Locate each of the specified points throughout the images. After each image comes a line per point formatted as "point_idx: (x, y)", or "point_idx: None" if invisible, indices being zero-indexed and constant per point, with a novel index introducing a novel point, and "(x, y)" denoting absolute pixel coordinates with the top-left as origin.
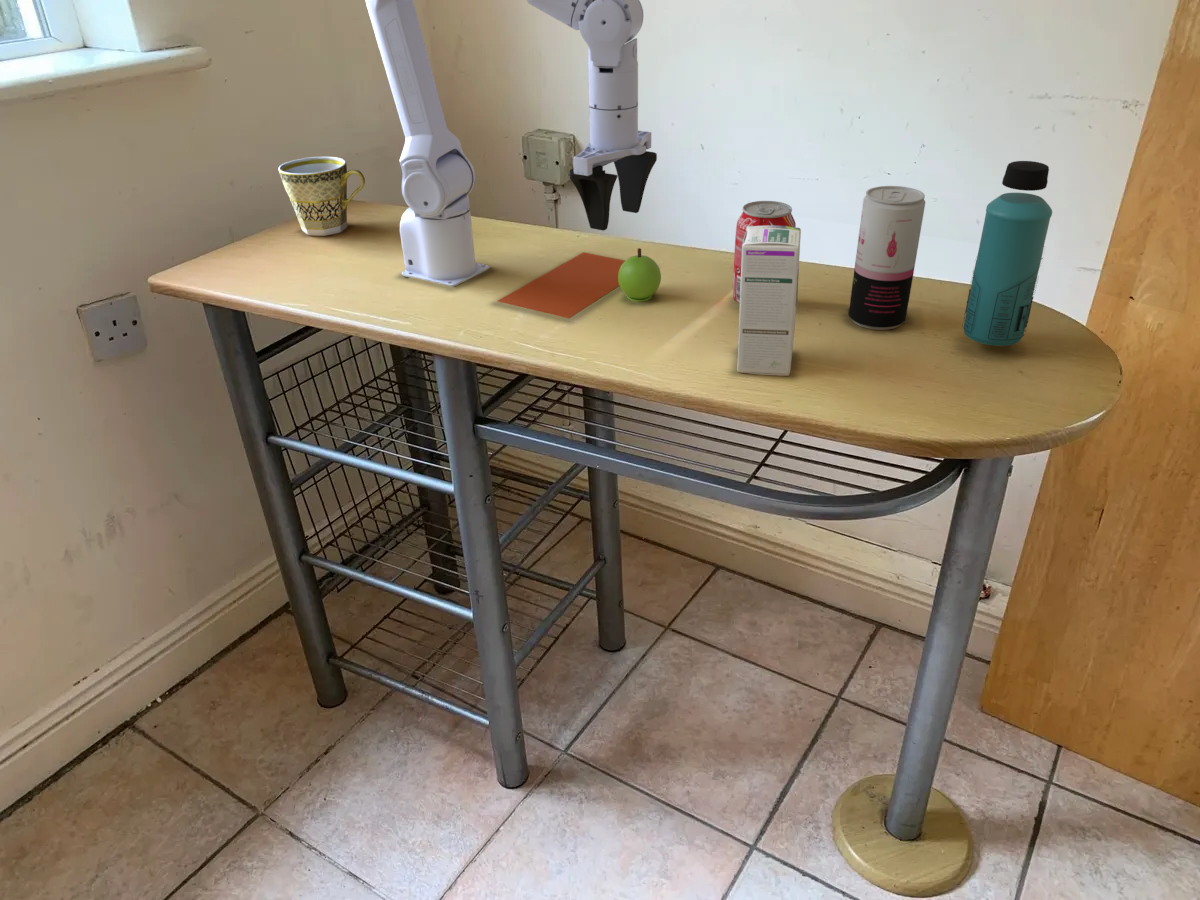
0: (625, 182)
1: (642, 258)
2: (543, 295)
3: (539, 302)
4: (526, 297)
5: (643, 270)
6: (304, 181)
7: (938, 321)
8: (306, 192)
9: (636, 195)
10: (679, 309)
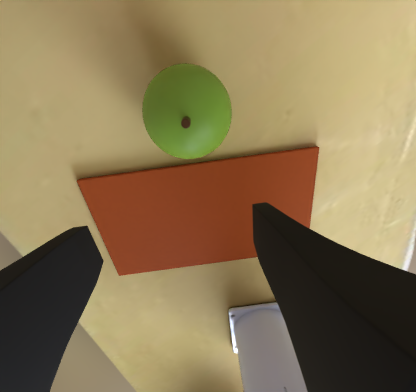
0: (48, 339)
1: (188, 108)
2: None
3: (289, 212)
4: None
5: (212, 83)
6: None
7: None
8: None
9: (53, 265)
10: (180, 5)
